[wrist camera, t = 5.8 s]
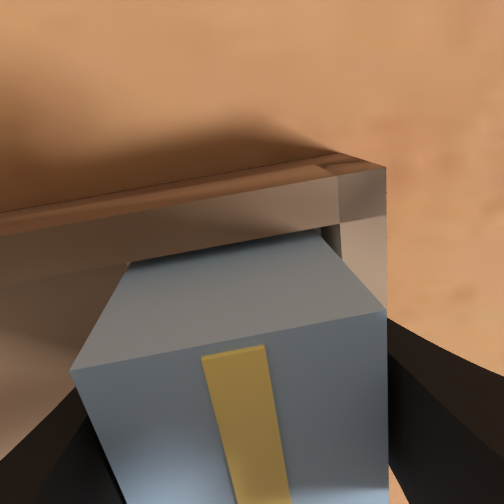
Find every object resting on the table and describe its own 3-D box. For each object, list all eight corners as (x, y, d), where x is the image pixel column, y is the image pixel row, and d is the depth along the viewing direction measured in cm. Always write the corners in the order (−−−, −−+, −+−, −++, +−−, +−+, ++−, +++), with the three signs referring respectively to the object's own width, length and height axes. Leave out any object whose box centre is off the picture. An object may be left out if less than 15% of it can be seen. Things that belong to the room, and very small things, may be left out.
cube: (321, 359, 12) (391, 517, 7) (177, 388, 12) (152, 569, 7) (307, 221, 10) (389, 313, 5) (136, 252, 10) (66, 375, 5)
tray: (357, 453, 17) (389, 526, 14) (62, 515, 16) (28, 606, 13) (340, 152, 11) (385, 166, 8) (-103, 230, 11) (-222, 276, 8)
